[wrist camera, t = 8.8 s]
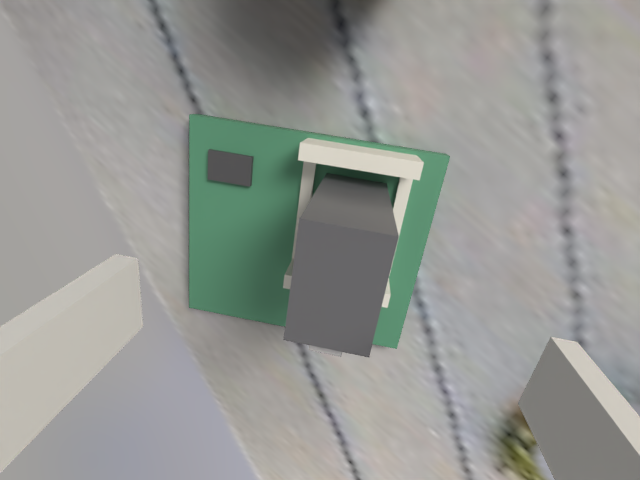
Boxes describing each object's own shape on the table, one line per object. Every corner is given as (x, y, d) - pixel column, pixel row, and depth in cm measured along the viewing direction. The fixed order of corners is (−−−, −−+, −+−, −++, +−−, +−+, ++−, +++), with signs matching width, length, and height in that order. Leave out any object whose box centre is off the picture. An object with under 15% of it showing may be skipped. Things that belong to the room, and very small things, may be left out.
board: (197, 113, 24) (165, 116, 20) (446, 153, 23) (461, 164, 19) (195, 299, 30) (169, 329, 26) (395, 339, 29) (399, 376, 25)
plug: (326, 172, 23) (299, 218, 14) (386, 183, 23) (398, 236, 14) (312, 263, 26) (282, 351, 17) (366, 273, 26) (366, 369, 16)
